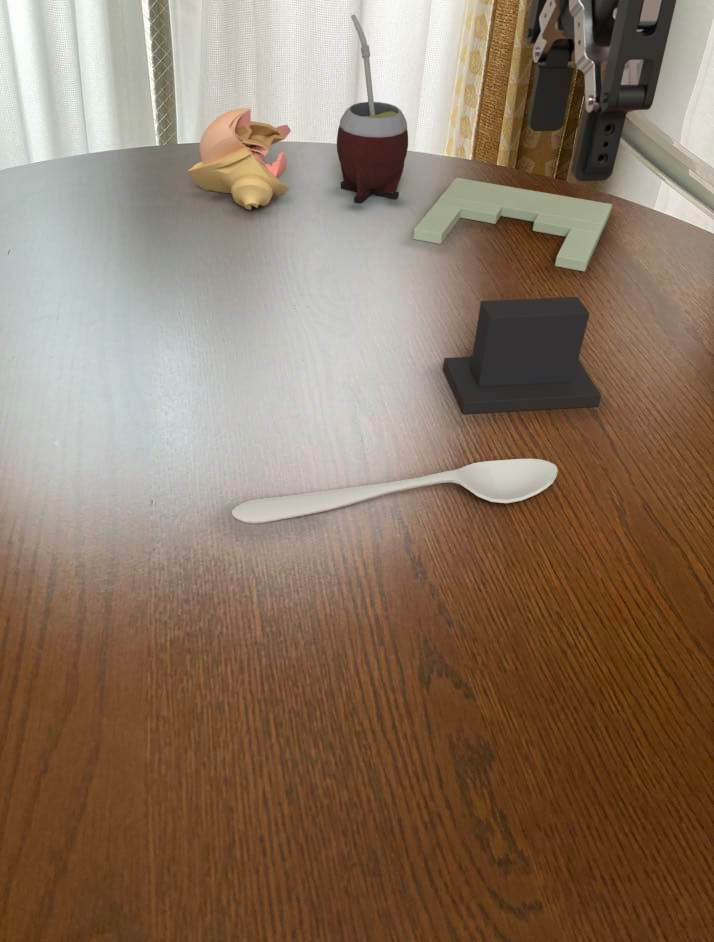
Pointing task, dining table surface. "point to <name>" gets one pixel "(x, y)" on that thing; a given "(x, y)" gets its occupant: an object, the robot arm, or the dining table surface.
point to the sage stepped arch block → (520, 216)
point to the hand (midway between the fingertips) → (565, 152)
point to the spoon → (481, 478)
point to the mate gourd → (371, 141)
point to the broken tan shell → (240, 159)
